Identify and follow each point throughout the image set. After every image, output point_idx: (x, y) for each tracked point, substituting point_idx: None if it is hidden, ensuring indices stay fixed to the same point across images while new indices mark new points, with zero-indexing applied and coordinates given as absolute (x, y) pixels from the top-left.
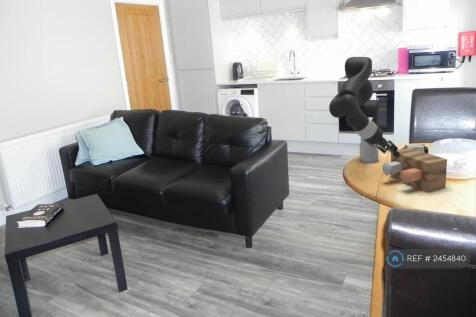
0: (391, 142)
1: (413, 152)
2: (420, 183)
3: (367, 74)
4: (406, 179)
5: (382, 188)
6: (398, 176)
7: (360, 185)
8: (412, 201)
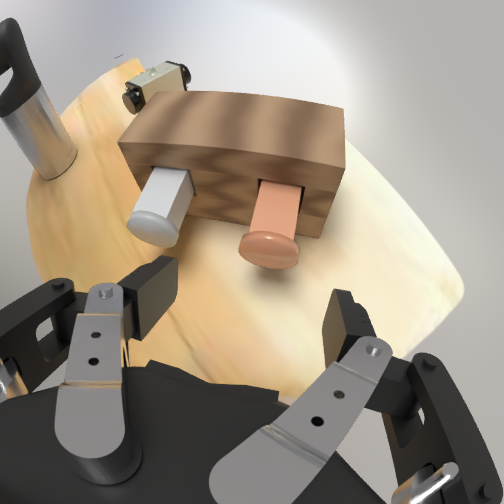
0: (490, 480)
1: (200, 107)
2: None
3: None
4: (275, 262)
5: (186, 309)
6: None
7: None
8: None
